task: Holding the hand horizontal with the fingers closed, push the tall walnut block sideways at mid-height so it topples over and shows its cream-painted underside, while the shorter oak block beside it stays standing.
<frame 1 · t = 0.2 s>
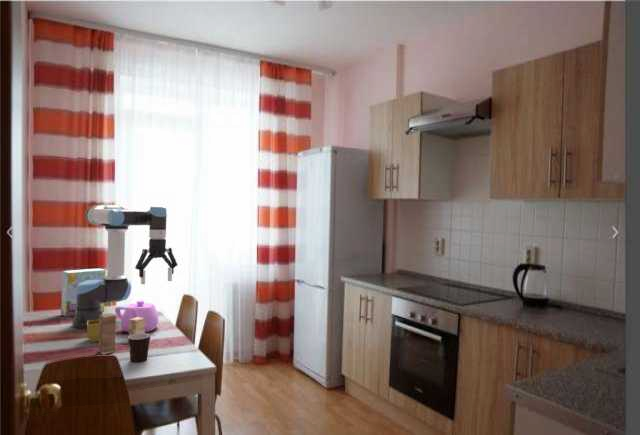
hand: (156, 282, 204), 28 cm above the table, tool pointing down, fingers open, 13 cm apart
teapot: (139, 330, 220), on the table
flower pot: (97, 340, 202), on the table
walnut block: (106, 351, 187), on the table
oak block: (136, 339, 205), on the table
snack box: (83, 313, 252), on the table
coffee mug: (137, 361, 176), on the table
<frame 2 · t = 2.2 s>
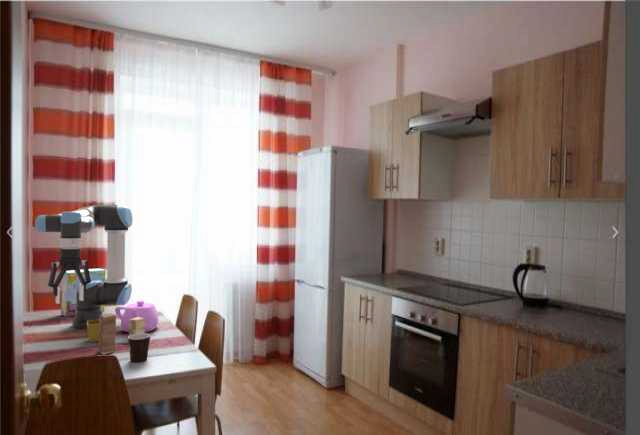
hand: (69, 301, 179), 23 cm above the table, tool pointing down, fingers open, 8 cm apart
nothing on the table moved.
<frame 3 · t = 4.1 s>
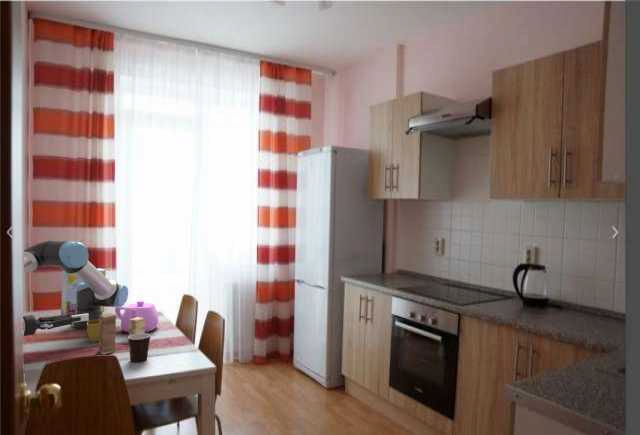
hand: (87, 316, 181), 17 cm above the table, tool horizontal, fingers closed
nothing on the table moved.
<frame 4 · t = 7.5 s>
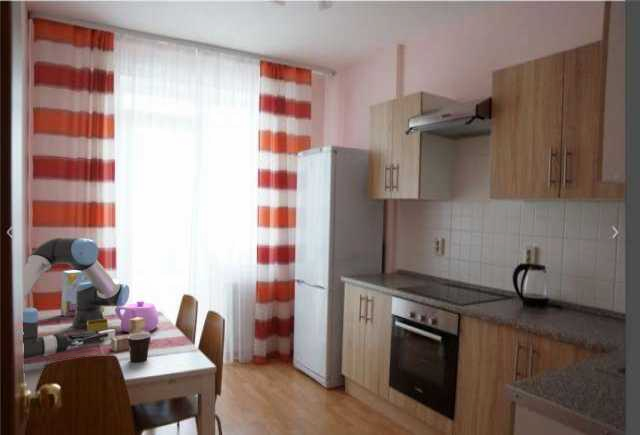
hand: (114, 332, 189), 8 cm above the table, tool horizontal, fingers closed
walnut block: (113, 344, 189), point 2 cm above the table, tilted 90°
everything else where it was.
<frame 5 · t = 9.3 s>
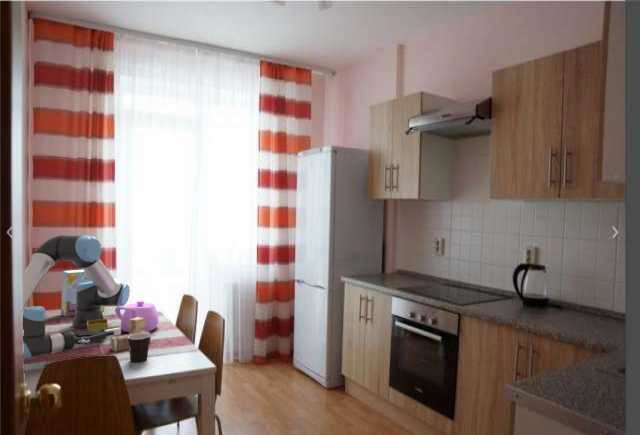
hand: (120, 330, 191), 8 cm above the table, tool horizontal, fingers closed
nothing on the table moved.
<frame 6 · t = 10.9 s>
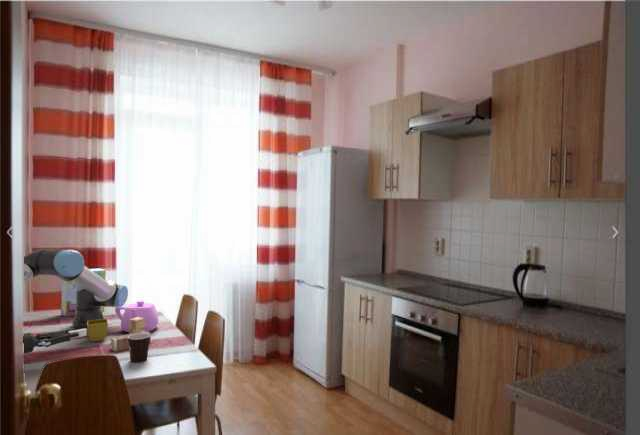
hand: (85, 332, 180), 10 cm above the table, tool horizontal, fingers closed
nothing on the table moved.
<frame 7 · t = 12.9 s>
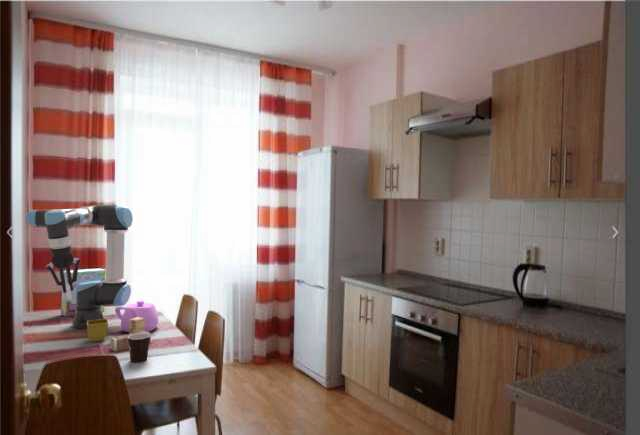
hand: (69, 298, 185), 23 cm above the table, tool pointing down, fingers closed
nothing on the table moved.
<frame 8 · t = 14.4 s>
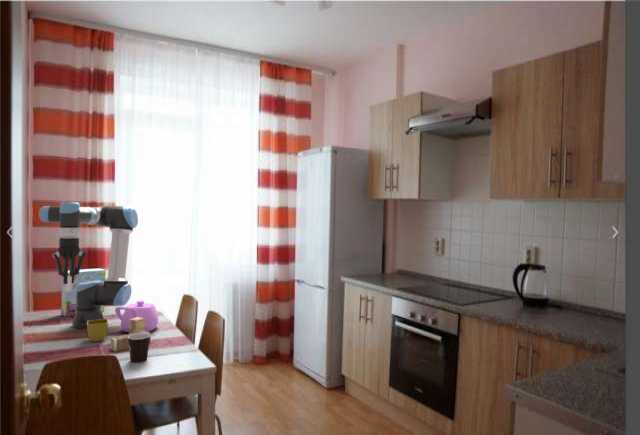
hand: (68, 291, 186), 26 cm above the table, tool pointing down, fingers closed
nothing on the table moved.
at the end: walnut block tilted 90°; walnut block inside the target area (2.5 cm from its centre), point 2.4 cm above the table; oak block tilted 0° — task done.
